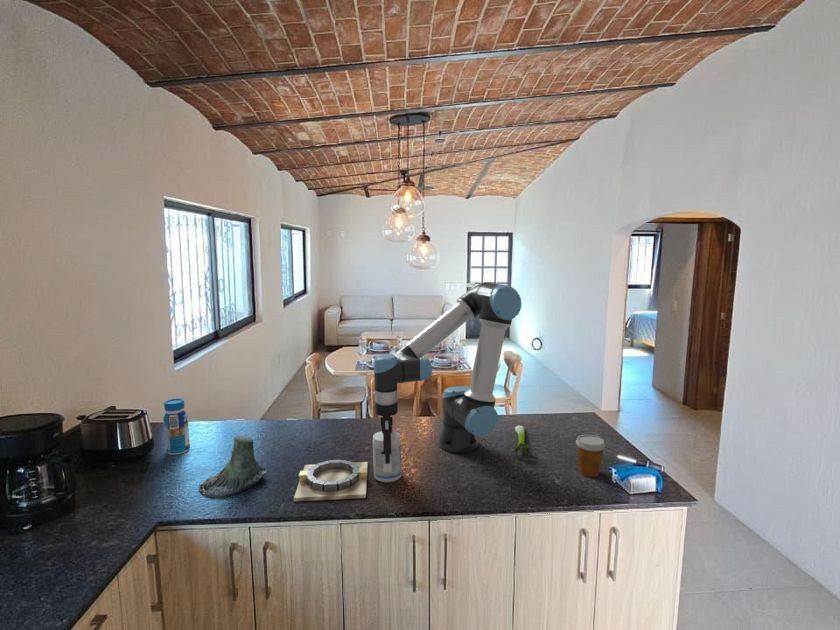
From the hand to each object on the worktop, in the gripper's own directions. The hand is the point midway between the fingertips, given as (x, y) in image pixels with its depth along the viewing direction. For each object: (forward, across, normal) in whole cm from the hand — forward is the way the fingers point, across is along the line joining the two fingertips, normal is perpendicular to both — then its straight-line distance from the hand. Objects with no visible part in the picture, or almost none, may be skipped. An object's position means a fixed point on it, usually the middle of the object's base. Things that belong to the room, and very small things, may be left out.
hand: (387, 462), depth 160 cm
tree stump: (+5, -1, -51) cm, 51 cm away
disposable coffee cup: (+5, +4, +69) cm, 69 cm away
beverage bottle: (+5, -28, -80) cm, 85 cm away
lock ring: (+4, +2, -18) cm, 19 cm away
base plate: (+5, +2, -18) cm, 19 cm away
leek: (+6, -21, +52) cm, 57 cm away
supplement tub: (+5, 0, 0) cm, 5 cm away
